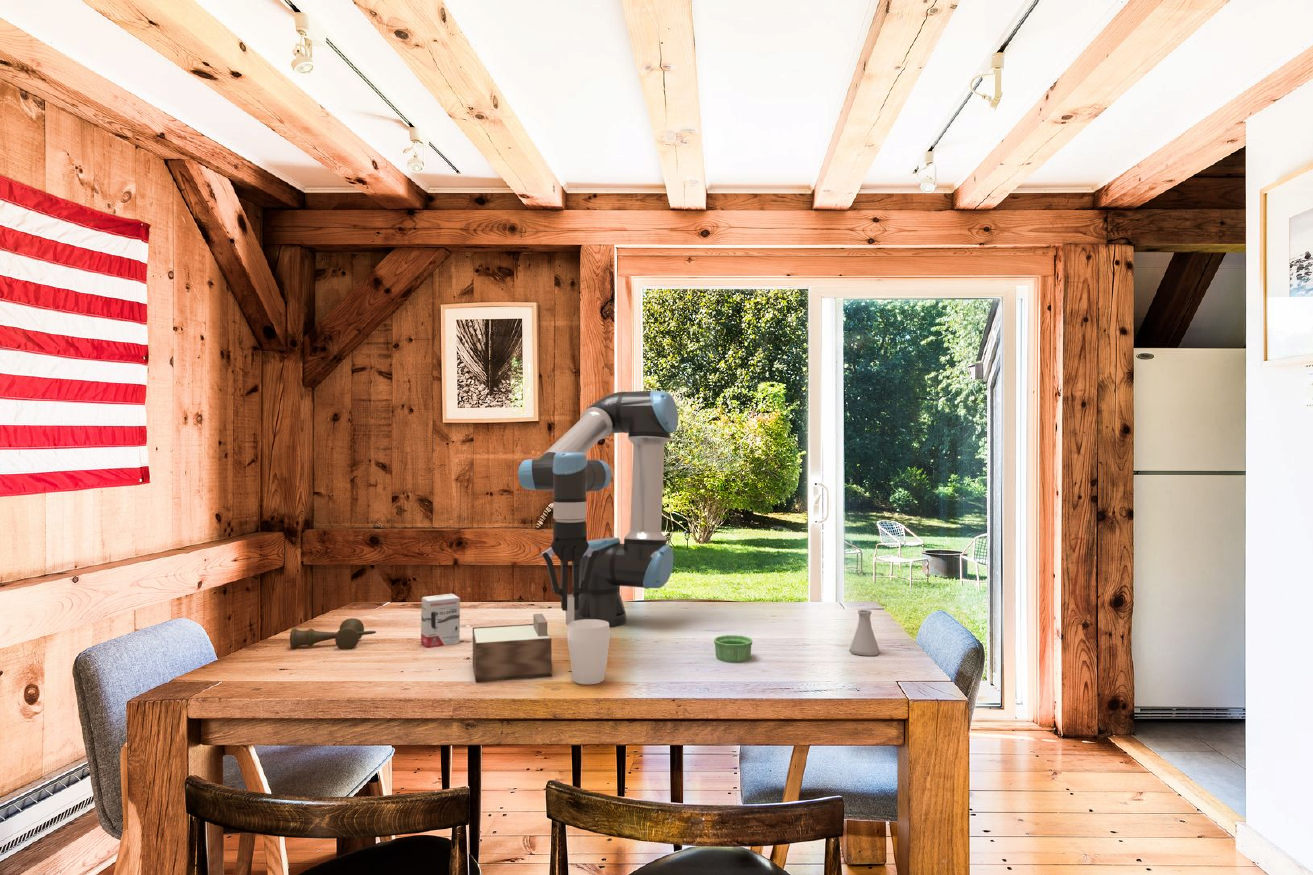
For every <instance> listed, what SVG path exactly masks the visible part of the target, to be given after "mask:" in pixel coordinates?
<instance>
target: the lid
mask: <svg viewBox="0 0 1313 875" xmlns="http://www.w3.org/2000/svg"><path fill="white" fill-rule="evenodd" d="M532 617H533V623H532V624H533V625H526V626H510V627H494V628H477V629H474V636H475V642H476V643H481V642H496V641H511V640H526V639H542V638H551V637H550V635H549V634H548V633H549V632H548V621H547V619H546V616H544V614H543V613H533V616H532Z"/></svg>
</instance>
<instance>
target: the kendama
mask: <svg viewBox="0 0 1313 875" xmlns="http://www.w3.org/2000/svg"><path fill="white" fill-rule="evenodd" d="M376 633H377V631H376V630H366V631H365V625H364V623H363V622H362V621H361V620H360V619H358V618H356V617H355V618H353V617H351V618H347V619H345V620H343V621H342V622H341V624H340V626H339V630H338V631H337V632H336V631H335V632H334V631H333V632H332V631H319V630H315V629H313V628H309V629H307V630H300V629H297V628H296V627H294V628H292V629H291V631H290V635H289V644H290V648H291V649H292V650H295V649H297V648H298V647H300V646H309V647H312V646H314V645H315V644H317V643H321V642H325V641H330V640H334V641H335V645H336V647H337V648H339V649H340V650H352V649H354V648H355V647H357V645H358V644H359V641H360V639H361V638H362V637H363V636H366V635H368V636H369V635H373V634H376Z"/></svg>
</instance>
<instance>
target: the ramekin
mask: <svg viewBox="0 0 1313 875" xmlns="http://www.w3.org/2000/svg"><path fill="white" fill-rule="evenodd" d="M713 642H714V646H715V647H714V648H715V649H714V651H715V657H716V659H717V660H719V661H721V662H723V663H725V662H726V663H743V662H744V663H745V662H748V661H749V660H751V657H752V656H751V655H752V654H751V653H752V645H753V639H752V638H751V637H748V636H743V635H736V634H733V635H731V634H729V635H728V634H727V635H720V636H717V637H714V639H713Z"/></svg>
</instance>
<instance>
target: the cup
mask: <svg viewBox="0 0 1313 875" xmlns="http://www.w3.org/2000/svg"><path fill="white" fill-rule="evenodd" d="M610 631H611V630H610V627H609V622H607V621H604V620H597V619H584V620H576V621H572V622H570V623H569V624H568V626H567V637H566V638H567V645H568V653H569V654H568V655H569V659H570V660H569V662H570V667H571V674H572V681H573V682H574V683H576V684H579V685H584V686H586V685H587V686H591V685H597V684H600V683H602V682H604V681H605V679H606V678H605V677H606V671H607V669H606V668H607V664H608V663H607V662H608V656H609V655H608V654H609V649H610V648H609V647H610V641H611V632H610Z"/></svg>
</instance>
